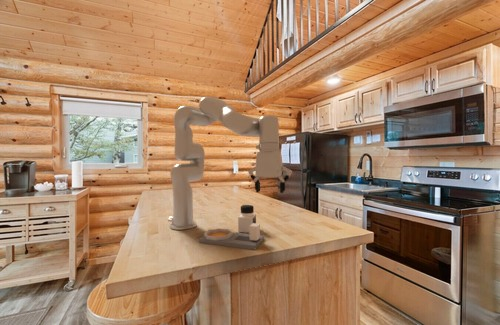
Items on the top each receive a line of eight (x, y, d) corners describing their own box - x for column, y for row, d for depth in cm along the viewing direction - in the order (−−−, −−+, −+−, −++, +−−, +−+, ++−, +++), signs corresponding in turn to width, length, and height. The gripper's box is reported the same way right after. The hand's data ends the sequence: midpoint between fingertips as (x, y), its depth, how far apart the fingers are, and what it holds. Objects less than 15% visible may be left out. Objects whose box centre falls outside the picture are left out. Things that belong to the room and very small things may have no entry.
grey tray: (199, 242, 96) (199, 235, 96) (213, 233, 108) (213, 227, 108) (254, 249, 88) (254, 242, 88) (264, 239, 99) (264, 232, 99)
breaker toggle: (249, 239, 93) (249, 225, 93) (253, 236, 97) (252, 223, 97) (256, 240, 92) (256, 226, 92) (260, 237, 96) (259, 223, 96)
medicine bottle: (253, 233, 107) (253, 207, 107) (238, 232, 109) (237, 206, 109) (256, 228, 114) (255, 203, 114) (241, 227, 116) (241, 203, 116)
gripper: (244, 148, 91) (245, 192, 91) (289, 146, 85) (290, 194, 85) (251, 149, 98) (252, 190, 98) (293, 147, 92) (293, 191, 92)
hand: (269, 192), depth 92 cm, fingers open, 9 cm apart
